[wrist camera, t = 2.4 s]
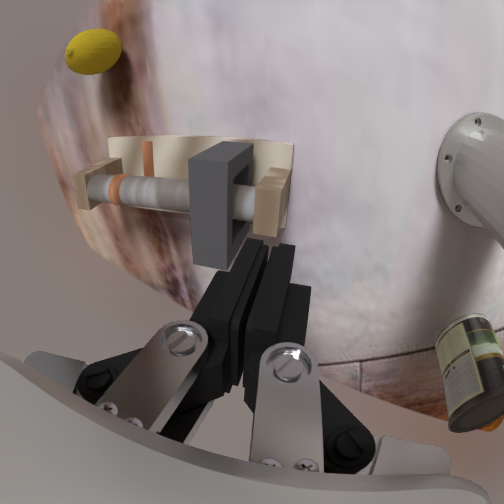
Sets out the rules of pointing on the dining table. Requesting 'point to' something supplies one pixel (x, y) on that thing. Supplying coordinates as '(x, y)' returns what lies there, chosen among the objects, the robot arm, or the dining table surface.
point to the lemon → (93, 51)
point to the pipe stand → (186, 178)
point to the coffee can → (471, 372)
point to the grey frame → (217, 202)
